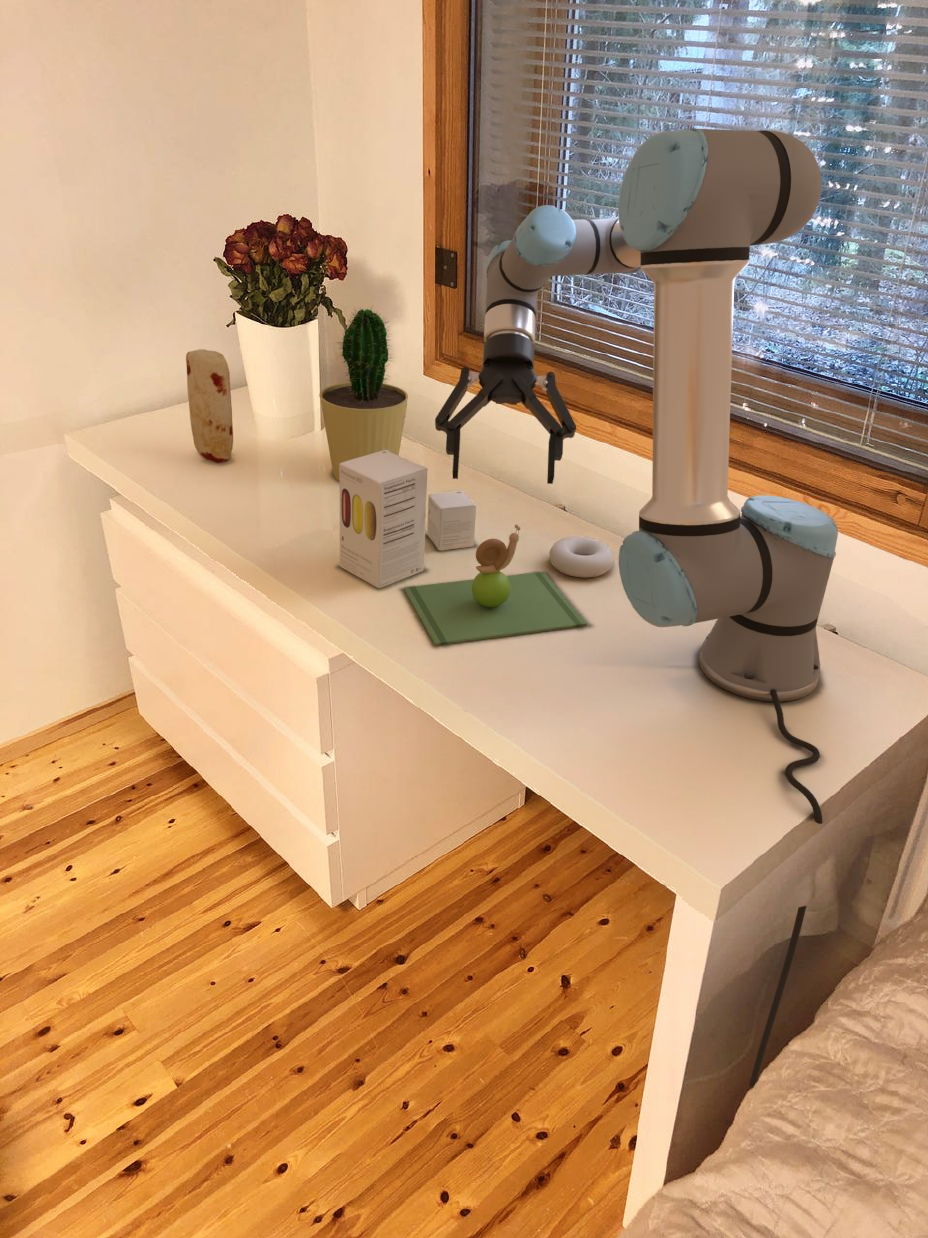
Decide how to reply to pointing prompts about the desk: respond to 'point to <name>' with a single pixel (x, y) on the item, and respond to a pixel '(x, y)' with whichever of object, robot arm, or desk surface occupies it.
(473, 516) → the product box
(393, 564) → the supplement box
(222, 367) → the food model
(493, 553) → the snail figurine
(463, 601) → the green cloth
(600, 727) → the desk surface
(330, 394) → the potted cactus
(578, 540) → the donut
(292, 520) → the desk surface
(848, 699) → the desk surface
